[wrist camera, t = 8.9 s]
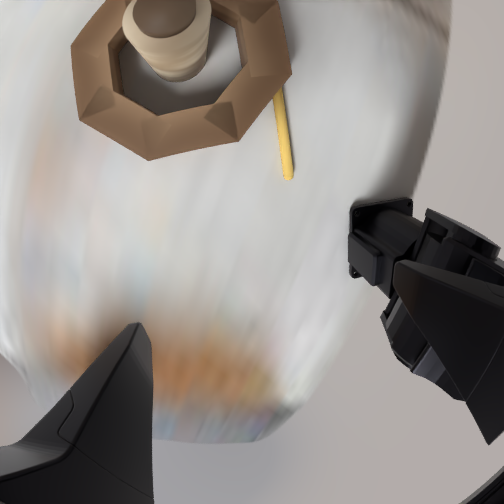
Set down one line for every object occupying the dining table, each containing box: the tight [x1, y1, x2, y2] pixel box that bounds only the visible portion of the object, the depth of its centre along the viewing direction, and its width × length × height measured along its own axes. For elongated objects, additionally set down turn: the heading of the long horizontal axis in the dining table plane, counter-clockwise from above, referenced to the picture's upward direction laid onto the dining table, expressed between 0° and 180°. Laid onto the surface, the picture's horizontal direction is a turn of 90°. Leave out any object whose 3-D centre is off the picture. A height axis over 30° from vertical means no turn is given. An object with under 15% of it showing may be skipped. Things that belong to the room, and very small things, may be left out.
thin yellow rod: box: [273, 87, 294, 180], centre depth 17 cm, size 1×8×1 cm, turn 8°
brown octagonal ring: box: [71, 0, 292, 161], centre depth 13 cm, size 13×13×2 cm
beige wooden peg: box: [122, 0, 211, 82], centre depth 11 cm, size 4×4×9 cm
